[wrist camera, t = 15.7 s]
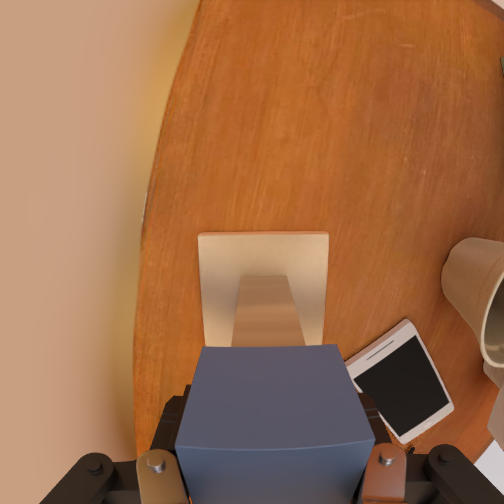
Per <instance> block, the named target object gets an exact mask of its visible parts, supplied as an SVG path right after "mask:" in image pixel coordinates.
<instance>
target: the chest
mask: <svg viewBox="0 0 504 504" xmlns="http://www.w3.org/2000/svg"><path fill="white" fill-rule="evenodd" d="M501 63H502V69H503V75H504V57H501Z"/></svg>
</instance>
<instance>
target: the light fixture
mask: <svg viewBox="0 0 504 504" xmlns="http://www.w3.org/2000/svg"><path fill="white" fill-rule="evenodd" d="M483 369H484V373H485V374H486V375H487V376H488V377H489V378H490V379H491V380H492V381H493V382H494V383H495V384H496V386H497V387H498V388H499V389H500V391H499V394H498V396H497V399H496V401H495V404H494V406H493V409H492V412H491V415H490V418H489V422H488V425H487V429H488V430H489V432H490V433H491V435H492V436H493V437H494V439H495V440H496V442H497V443H498V444H499V446H500V447H501V449H502V450H503V451H504V367H503V368H497V367H493V366H491V365H489V364H488V363H487V362H486V361H485V360H484V366H483Z"/></svg>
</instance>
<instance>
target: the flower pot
mask: <svg viewBox="0 0 504 504" xmlns="http://www.w3.org/2000/svg"><path fill="white" fill-rule="evenodd" d="M441 286H442V290H443V293H444V295H445V297H446V298H447V300H448V301H449V302H450V303H451V304H452V305H453V306H454V308H455V309H456V310H457V311H458V312H459V314H460V315H461V316H462V317H463V319H464V320H465V321H466V323H467V324H468V325H469V326H470V328H471V329H472V330H473V332H474V333H475V336H476V339H477V341H478V343H479V347H480V352H481V354H482V356H483V358H484V360H485V361H486V362H487V363H488V364H489V365H491V366H493V367H497V368H503V367H504V242H499V241H493V240H487V239H481V238H477V237H470V238H466V239H464V240H462V241H460V242H459V243H458V244H456V245H455V246H454V247H453V248H452V250H451V251H450V254H449V257H448V259H447V261H446V263H445V264H444V266H443V268H442V273H441Z"/></svg>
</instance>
